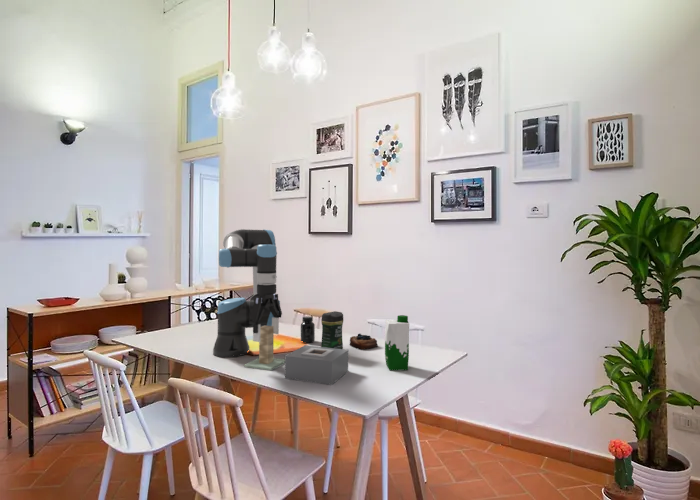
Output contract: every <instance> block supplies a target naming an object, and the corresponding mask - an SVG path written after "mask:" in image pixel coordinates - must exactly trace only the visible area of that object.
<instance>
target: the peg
mask: <svg viewBox="0 0 700 500" xmlns="http://www.w3.org/2000/svg"><path fill="white" fill-rule="evenodd" d="M274 335H275V334H274V326H262V327H260V342H258V349H259V350H258V352H259V353H258V358H259V363H263V364H269V363H271V362H273V358H274Z"/></svg>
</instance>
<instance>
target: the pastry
mask: <svg viewBox="0 0 700 500" xmlns="http://www.w3.org/2000/svg"><path fill="white" fill-rule="evenodd" d="M349 346H351V347H353V348H355V349H357V350H360V351H364V350H365V351H366V350H372V349H375V348H378V340H377V339H376V338H374V337H371V336H370V335H368V334H362V333H358V334H357V335H352V336H351V337H350V338H349Z"/></svg>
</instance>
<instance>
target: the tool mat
mask: <svg viewBox="0 0 700 500" xmlns="http://www.w3.org/2000/svg"><path fill="white" fill-rule="evenodd" d="M282 365H285V358H284V359H283V358H275V357H273V362H271V363H269V364H263V363H259V357H258V358H256V359H253V360H252V361H249V362H247V363H246V364H244V365H243V366H244V368H251V369H259V370H265V371H273V370H275V369H277V368H278V367H281V366H282Z"/></svg>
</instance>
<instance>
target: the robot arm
mask: <svg viewBox="0 0 700 500" xmlns="http://www.w3.org/2000/svg"><path fill="white" fill-rule="evenodd" d="M222 243H223V244H222V245H223V248H220V249H219V250H218V266H219V267H220V268H252V285H253V287H252V288H253V289H252V290H253V295H252V296H251V297H250V299H249V300H247V299H246V298H245V297H235V298H234V297H233V298H228V299H224V300H222V301H220V302H218V304H217V312H216V313H217V335H216V339H215V342H214V346H213V349H212V355H214V356H216V357H221V358H231V357H232V358H233V357H234V358H235V357H240V356H244V355H245V356H246V355H247V354H248V353H247V351H248V350H249V351H250V344H249V342H248V341H249V340H248V339H247V335H246V329H251V328H252V341H253V342H257V343H259V342H260V327H262V326H274V335H279V333H280V332H279V327H280V326H279V325H280V320H279V319H280V318H282V315H283V312H282V309H281V301H280V300H279V294H278V293H277V284H276V283H277V257H278V256H277V254H278V252H277V246H276V236H275V233H274V231H273V230H270V229H264V228H263V229H244V228H243V229H242V228H241V229H236V230H234V231H232V232H229V233H228V234H226V236H225V237H224V239H223V242H222Z"/></svg>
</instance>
